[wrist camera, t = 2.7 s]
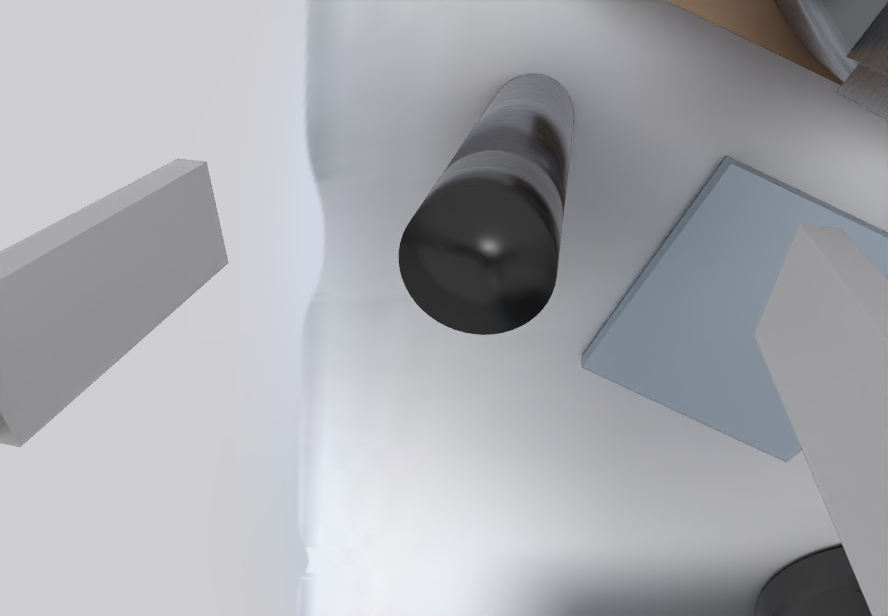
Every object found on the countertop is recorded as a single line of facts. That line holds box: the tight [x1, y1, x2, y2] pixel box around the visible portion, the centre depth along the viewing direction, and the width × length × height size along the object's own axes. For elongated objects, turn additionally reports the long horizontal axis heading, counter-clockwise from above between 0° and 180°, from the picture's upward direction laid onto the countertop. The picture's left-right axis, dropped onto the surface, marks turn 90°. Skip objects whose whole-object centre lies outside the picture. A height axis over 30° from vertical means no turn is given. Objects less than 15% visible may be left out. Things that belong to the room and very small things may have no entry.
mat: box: [582, 156, 888, 462], centre depth 26 cm, size 12×12×1 cm
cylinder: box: [399, 74, 574, 335], centre depth 18 cm, size 4×4×14 cm
